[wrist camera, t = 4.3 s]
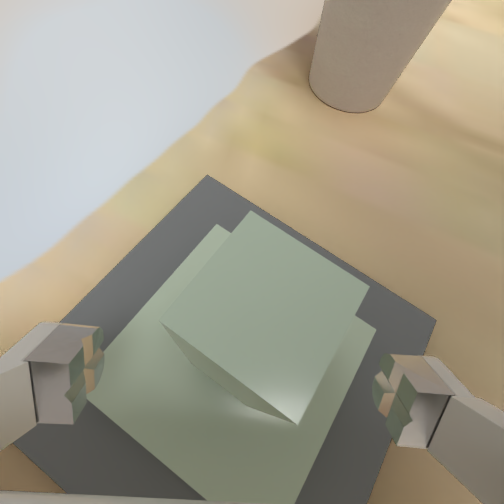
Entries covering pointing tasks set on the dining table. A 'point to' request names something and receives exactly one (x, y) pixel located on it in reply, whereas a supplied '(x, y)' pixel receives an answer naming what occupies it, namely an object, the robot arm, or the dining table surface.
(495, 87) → the dining table surface
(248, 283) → the lid
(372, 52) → the coffee cup
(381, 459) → the mat
